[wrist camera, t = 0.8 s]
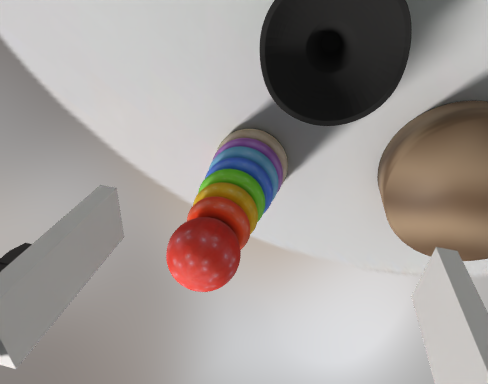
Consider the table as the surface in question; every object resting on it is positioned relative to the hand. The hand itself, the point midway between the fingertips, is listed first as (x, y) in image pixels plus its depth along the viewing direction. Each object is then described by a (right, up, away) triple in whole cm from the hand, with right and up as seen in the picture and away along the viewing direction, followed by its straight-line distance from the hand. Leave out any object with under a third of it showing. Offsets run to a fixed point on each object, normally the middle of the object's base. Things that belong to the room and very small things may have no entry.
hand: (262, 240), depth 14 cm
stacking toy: (0, +6, +23) cm, 24 cm away
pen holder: (+7, +16, +15) cm, 23 cm away
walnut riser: (+20, +4, +19) cm, 28 cm away
